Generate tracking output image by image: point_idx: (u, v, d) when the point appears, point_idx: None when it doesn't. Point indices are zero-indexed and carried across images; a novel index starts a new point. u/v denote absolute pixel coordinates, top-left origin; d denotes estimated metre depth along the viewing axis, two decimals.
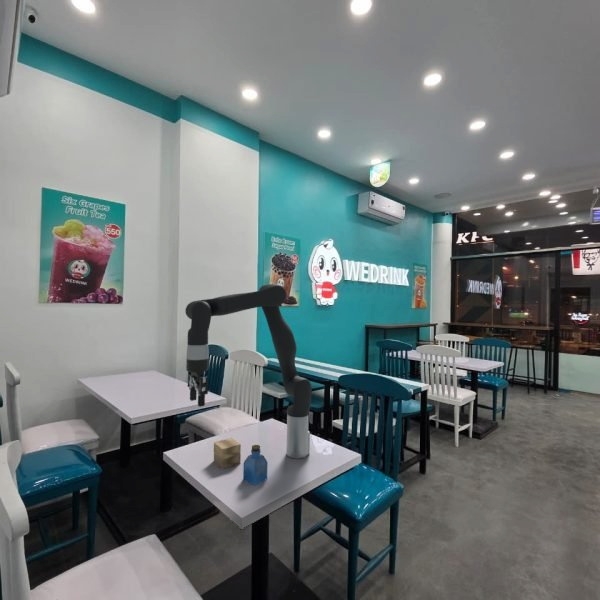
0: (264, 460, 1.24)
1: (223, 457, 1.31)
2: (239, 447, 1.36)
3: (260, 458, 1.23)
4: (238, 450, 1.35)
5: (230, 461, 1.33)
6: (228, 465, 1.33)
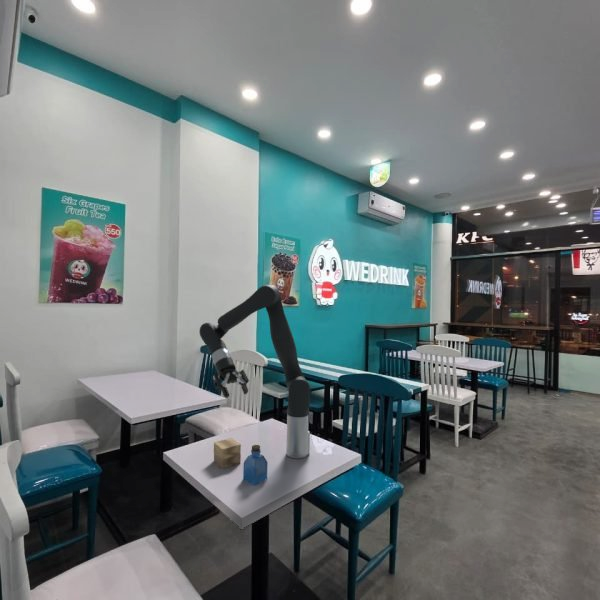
0: (264, 460, 1.24)
1: (223, 457, 1.31)
2: (239, 447, 1.36)
3: (260, 458, 1.23)
4: (238, 450, 1.35)
5: (230, 461, 1.33)
6: (228, 465, 1.33)
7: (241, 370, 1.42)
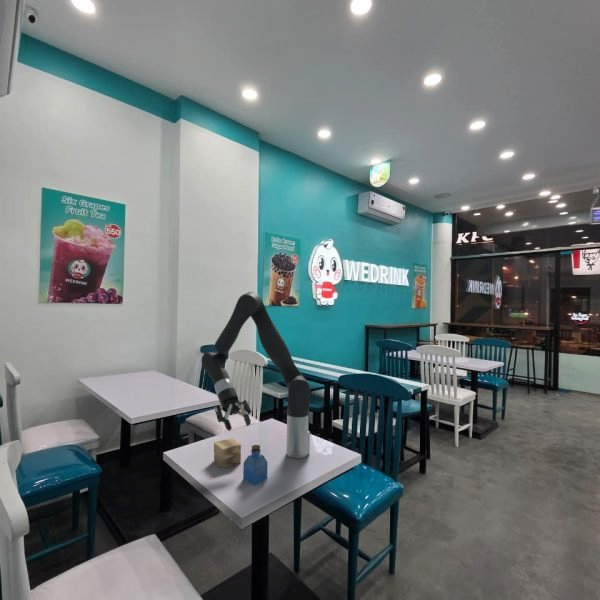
0: (264, 460, 1.24)
1: (223, 457, 1.31)
2: (239, 447, 1.35)
3: (260, 458, 1.23)
4: (238, 450, 1.35)
5: (230, 461, 1.33)
6: (228, 465, 1.33)
7: (244, 400, 1.41)
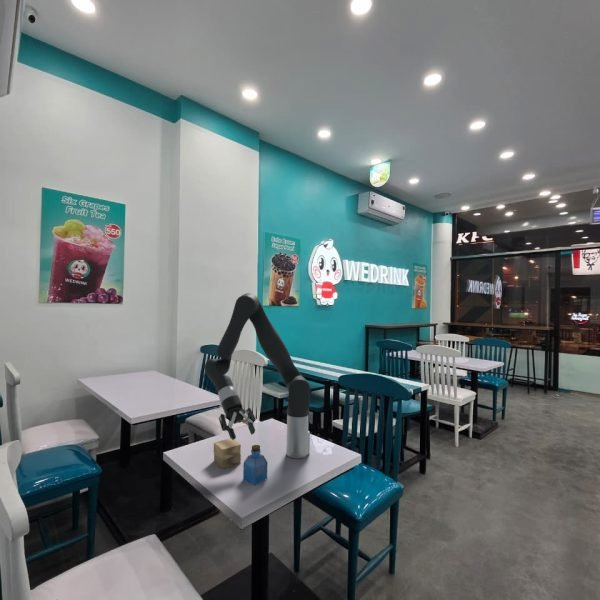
0: (264, 460, 1.24)
1: (223, 457, 1.31)
2: (239, 447, 1.35)
3: (260, 458, 1.23)
4: (238, 450, 1.35)
5: (230, 461, 1.33)
6: (228, 465, 1.33)
7: (248, 408, 1.39)
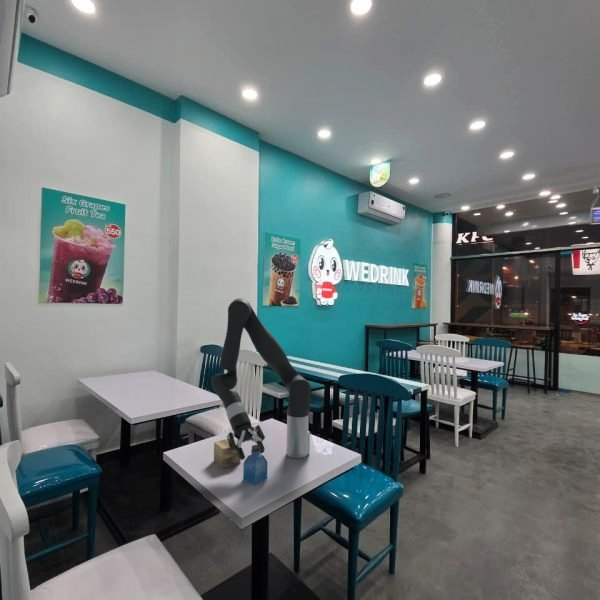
0: (264, 460, 1.24)
1: (224, 457, 1.31)
2: None
3: (260, 458, 1.23)
4: None
5: (230, 461, 1.33)
6: (228, 465, 1.33)
7: (257, 425, 1.34)
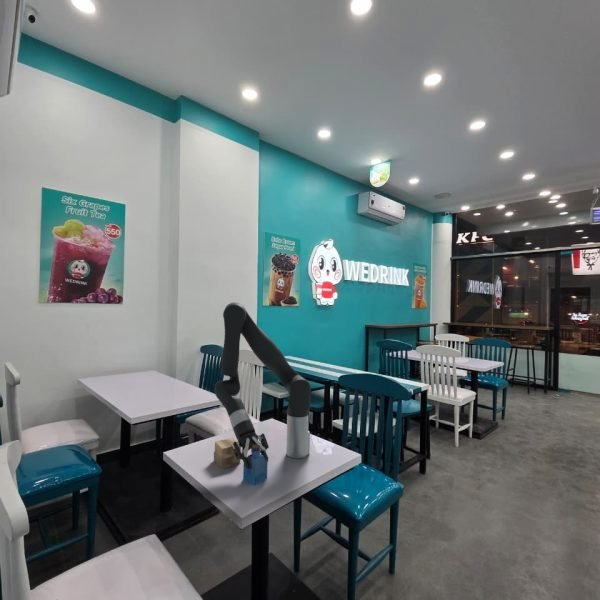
0: (264, 460, 1.24)
1: (223, 456, 1.32)
2: (239, 447, 1.35)
3: (260, 458, 1.23)
4: None
5: (230, 461, 1.33)
6: (228, 465, 1.33)
7: (261, 434, 1.31)
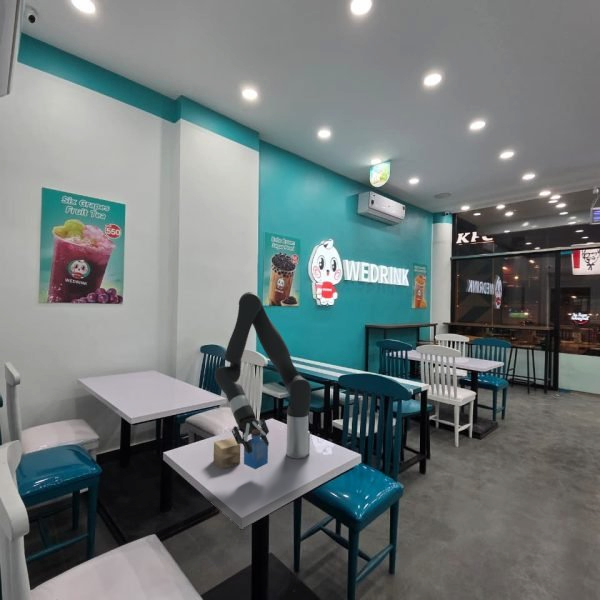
0: (264, 444, 1.24)
1: (223, 457, 1.31)
2: (239, 447, 1.36)
3: (260, 442, 1.23)
4: (238, 450, 1.35)
5: (230, 461, 1.33)
6: (228, 465, 1.33)
7: None
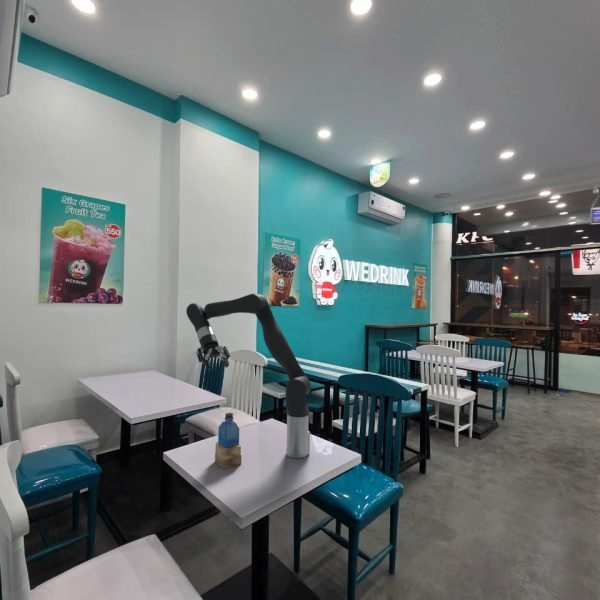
0: (236, 427, 1.36)
1: (222, 458, 1.31)
2: (239, 449, 1.34)
3: (232, 424, 1.35)
4: (238, 452, 1.34)
5: (231, 462, 1.32)
6: (229, 466, 1.32)
7: None
